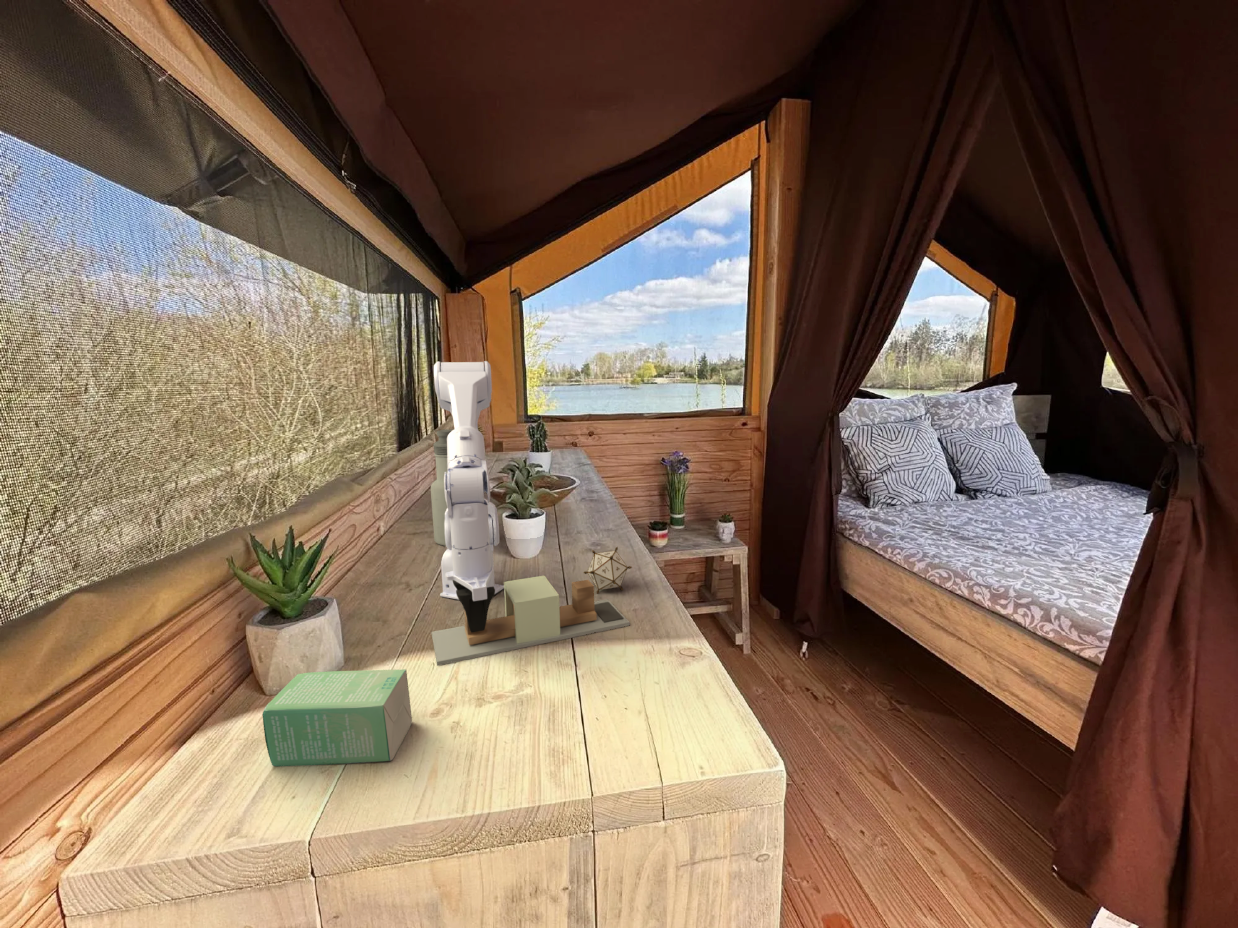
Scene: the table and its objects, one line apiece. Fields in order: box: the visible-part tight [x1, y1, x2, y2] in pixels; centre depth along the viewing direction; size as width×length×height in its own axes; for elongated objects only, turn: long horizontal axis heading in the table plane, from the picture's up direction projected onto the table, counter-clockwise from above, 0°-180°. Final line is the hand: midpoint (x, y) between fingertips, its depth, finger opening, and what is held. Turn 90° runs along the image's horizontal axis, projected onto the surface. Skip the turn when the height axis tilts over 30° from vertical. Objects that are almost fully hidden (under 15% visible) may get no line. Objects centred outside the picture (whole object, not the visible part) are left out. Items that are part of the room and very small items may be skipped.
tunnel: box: [503, 575, 560, 644], centre depth 90 cm, size 7×9×7 cm
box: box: [262, 668, 413, 767], centre depth 63 cm, size 7×14×8 cm, turn 92°
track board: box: [431, 599, 631, 666], centre depth 90 cm, size 31×10×1 cm, turn 113°
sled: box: [463, 579, 597, 645], centre depth 90 cm, size 21×5×6 cm, turn 113°
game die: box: [583, 546, 633, 594], centre depth 106 cm, size 9×8×10 cm
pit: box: [594, 602, 623, 623], centre depth 95 cm, size 4×7×1 cm, turn 23°
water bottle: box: [430, 428, 454, 547], centre depth 135 cm, size 10×10×28 cm
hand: (475, 625), depth 86 cm, fingers closed on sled, 3 cm apart
